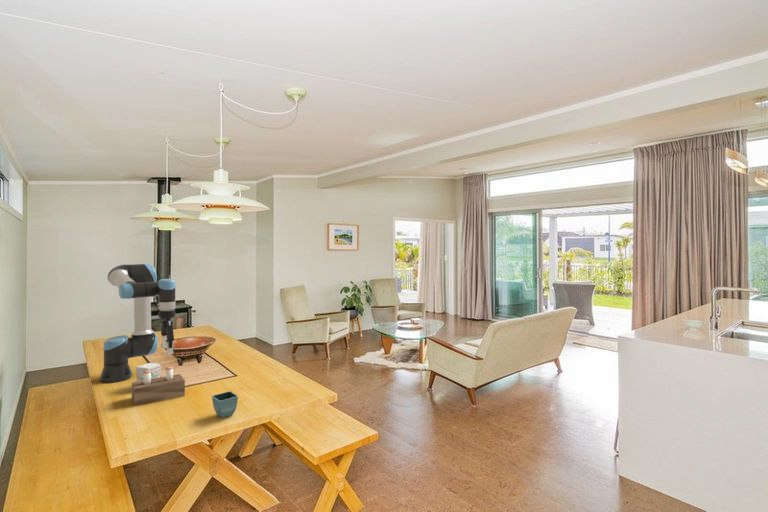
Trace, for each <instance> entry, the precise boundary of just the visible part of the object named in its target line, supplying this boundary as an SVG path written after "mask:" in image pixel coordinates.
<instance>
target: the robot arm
mask: <svg viewBox="0 0 768 512" xmlns="http://www.w3.org/2000/svg"><path fill="white" fill-rule="evenodd" d="M157 279H158V275H157V272H156V268H155V267H154V265H153V264H151V263H141V264H140V263H139V264H137V263H136V264H135V263H133V264H121V265H117V266H115V267H113V268H111V270H110V271H109V272H108V274H107V280H108V282H109V283H110V284H111V286H115V287H117V288H118V295H119V298H120V299H123V300H124V299H125V300H126V299H127V300H128V299H133V312H134V313H133V316H134V317H133V319H134V320H133V322H134V323H133V325H134V327H133V328H134V331H133V332H132V333H131V337H129V336H128V335H123V334H122V335H117V336H113V337H109V338H108V339H105V340H104V342H103V348H102V350H103V367H102V371H101V373H100V375H99V380H100V382H101V383H106V384H107V383H117V382H118V383H119V382H122V381H126V380H128V379H131V378H132V376H133V373H132V370H131V367H130V364H129V359H131V358H137V357H143V356H147V357H148V356H150V355H153V354H155V353H156V352H157V350H158V346H159V339H158V338H159V337H158V335H157V334H156V333H155V331H154V330H153V329H152V307H151V306H152V304H151V302H152V301H151V300H152V299H151V298H152V297H158V303H157V304H156V305H157V306H158V318H159V319H161V328H160V329H161V330H160V334H161V349H166V355H167V356H168V355H173V354H174V341H175V335H174V327H173V323H174V322H173V320H171V319H172V318H175V317H176V288H177V287H176V280H175V279H173V278H164V279H163V278H162V279H159V280H157Z"/></svg>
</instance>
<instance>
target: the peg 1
mask: <svg viewBox="0 0 768 512" xmlns="http://www.w3.org/2000/svg"><path fill="white" fill-rule="evenodd" d="M147 384H151V371H150V370H147V371H144V372H143V385H147Z"/></svg>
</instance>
